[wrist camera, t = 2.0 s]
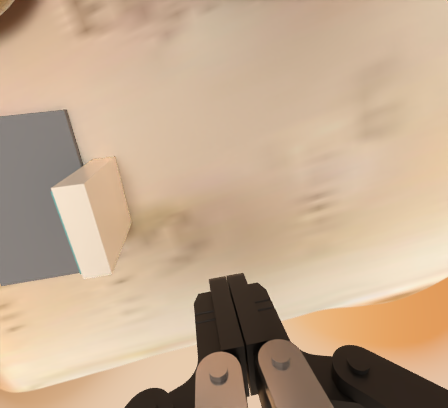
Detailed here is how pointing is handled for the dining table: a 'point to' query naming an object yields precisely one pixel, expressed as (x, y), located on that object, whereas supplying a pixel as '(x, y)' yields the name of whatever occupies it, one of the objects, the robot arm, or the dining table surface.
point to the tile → (94, 215)
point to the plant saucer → (5, 5)
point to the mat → (34, 195)
